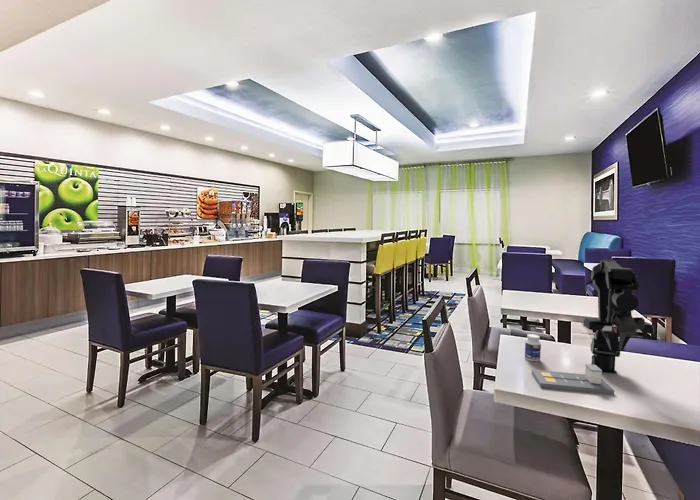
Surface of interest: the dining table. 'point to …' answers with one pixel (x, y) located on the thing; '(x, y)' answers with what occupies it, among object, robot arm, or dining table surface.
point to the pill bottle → (532, 347)
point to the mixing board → (570, 382)
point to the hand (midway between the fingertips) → (616, 350)
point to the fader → (593, 373)
